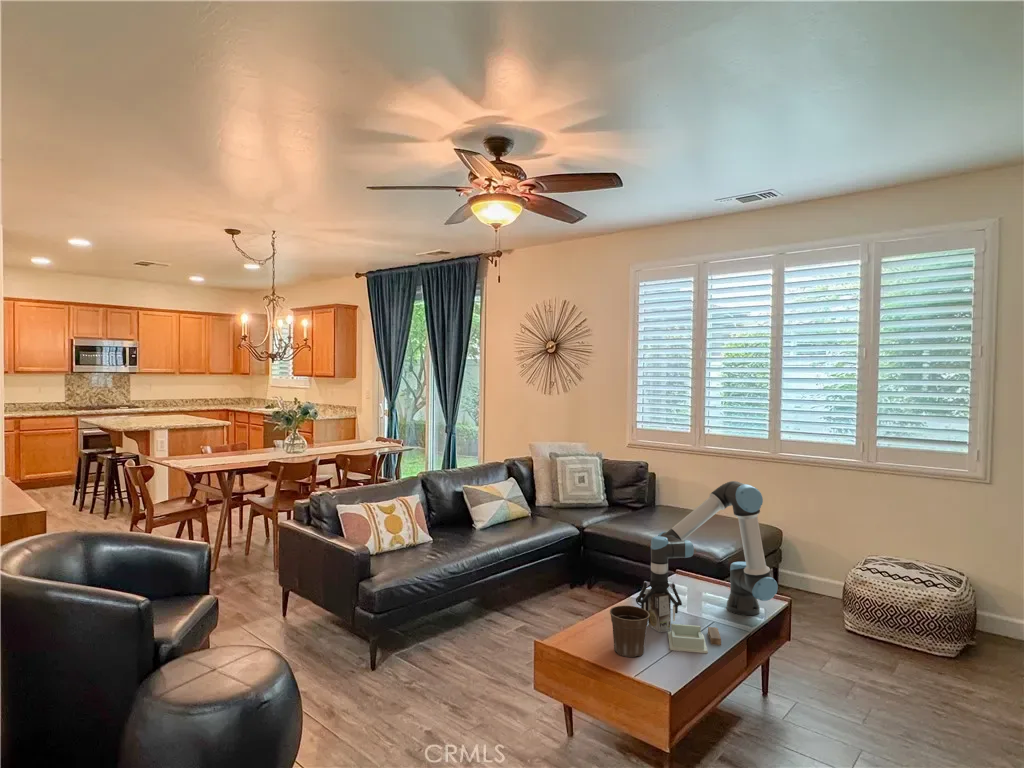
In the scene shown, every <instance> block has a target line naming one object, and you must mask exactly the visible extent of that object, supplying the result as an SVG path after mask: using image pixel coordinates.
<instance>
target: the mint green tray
mask: <svg viewBox="0 0 1024 768" xmlns="http://www.w3.org/2000/svg"><path fill="white" fill-rule="evenodd" d="M701 630H702V627H701V625H694V624H692V625H691V624H679V623H671V630H670V631H667V638H668V645H669V650H670V651H678V652H690V653H701V654H708V653H709V650H708V647H707V643H706V639H705V635H704V634H703V633H702V632H701Z"/></svg>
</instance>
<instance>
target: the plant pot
mask: <svg viewBox="0 0 1024 768" xmlns="http://www.w3.org/2000/svg"><path fill="white" fill-rule="evenodd" d="M609 614H610V620H611V623H612V637H613V650H614V652H615V653H617V655H619V656H622V657H627V658H636V657H637V656H638V657H641V656H642V655H643V654H644V653H645V643H646V642H645V641H646V636H647V628H648V627H647V626H649V625H648V618H649V616H650V614H649V612H648V611H646V610H645V609H642V608H641V607H640V606H639V607H638V606H634V605H617V606H613V607H611V608H610V610H609Z"/></svg>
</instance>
